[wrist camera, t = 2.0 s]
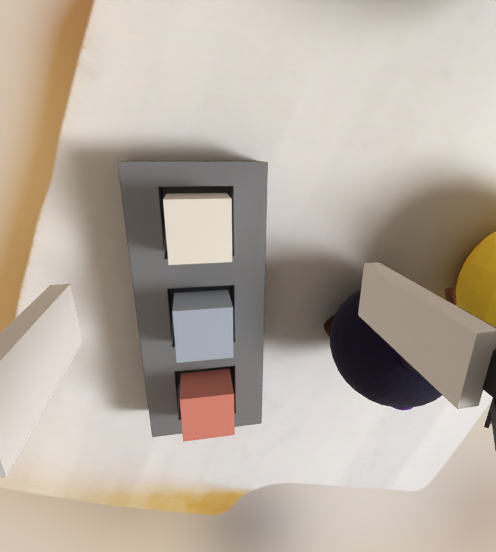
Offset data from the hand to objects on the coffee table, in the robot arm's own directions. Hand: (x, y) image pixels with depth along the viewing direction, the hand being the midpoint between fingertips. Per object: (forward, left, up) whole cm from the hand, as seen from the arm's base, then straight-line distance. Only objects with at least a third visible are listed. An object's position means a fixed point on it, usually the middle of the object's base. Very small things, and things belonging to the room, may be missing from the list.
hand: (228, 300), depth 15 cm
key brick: (+17, -1, -15) cm, 23 cm away
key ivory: (-1, -1, -15) cm, 15 cm away
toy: (+10, +17, -19) cm, 28 cm away
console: (+8, -1, -19) cm, 21 cm away
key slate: (+8, -1, -15) cm, 17 cm away
